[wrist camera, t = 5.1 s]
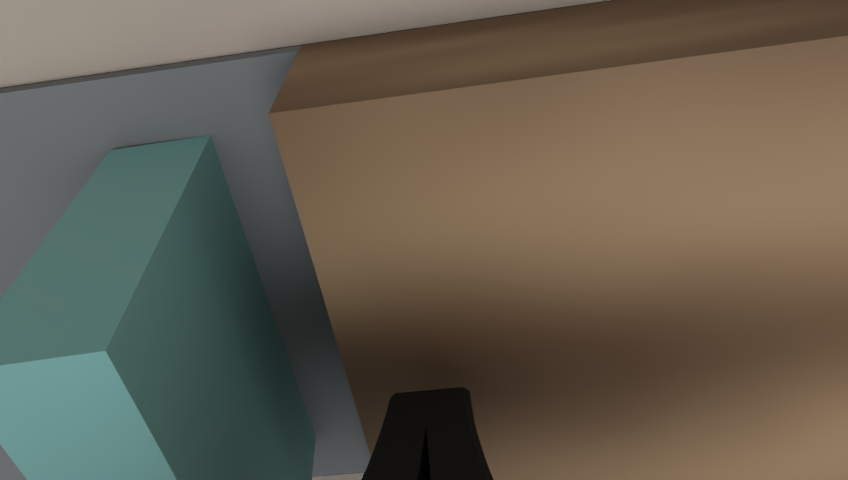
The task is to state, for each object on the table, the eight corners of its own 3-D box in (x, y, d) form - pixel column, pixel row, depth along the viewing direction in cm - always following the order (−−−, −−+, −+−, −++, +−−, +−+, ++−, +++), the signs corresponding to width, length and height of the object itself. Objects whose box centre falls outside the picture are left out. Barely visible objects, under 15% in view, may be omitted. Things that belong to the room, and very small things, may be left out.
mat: (406, 459, 19) (405, 468, 19) (9, 493, 20) (4, 502, 20) (301, 45, 12) (298, 51, 12) (-285, 129, 14) (-298, 135, 13)
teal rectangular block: (290, 684, 13) (190, 696, 13) (315, 437, 18) (242, 447, 18) (106, 350, 8) (-54, 372, 8) (210, 135, 13) (110, 150, 13)
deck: (931, 415, 18) (1010, 519, 15) (406, 459, 19) (402, 561, 17) (1131, -75, 11) (1329, -30, 9) (301, 45, 12) (267, 113, 10)
